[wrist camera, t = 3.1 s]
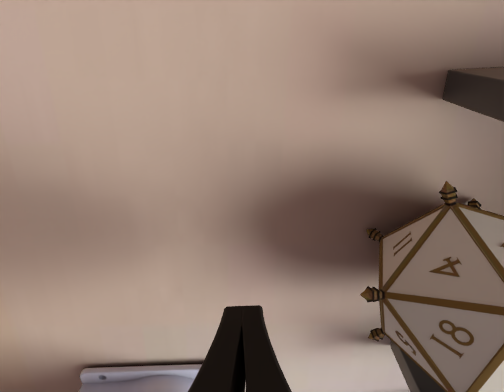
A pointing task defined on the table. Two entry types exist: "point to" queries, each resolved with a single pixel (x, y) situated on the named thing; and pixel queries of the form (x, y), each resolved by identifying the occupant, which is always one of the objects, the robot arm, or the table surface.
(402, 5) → the table surface
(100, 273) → the table surface
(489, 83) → the cubby
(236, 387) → the robot arm
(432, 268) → the game die
